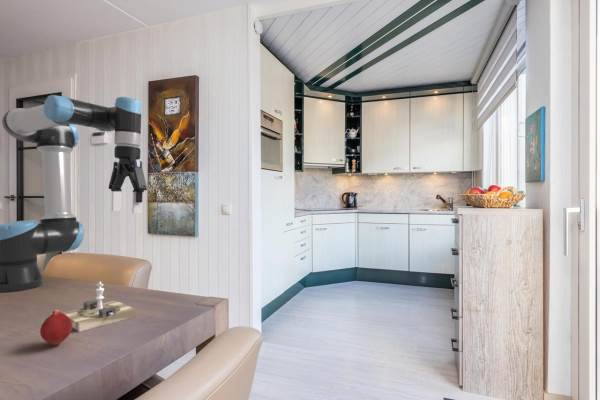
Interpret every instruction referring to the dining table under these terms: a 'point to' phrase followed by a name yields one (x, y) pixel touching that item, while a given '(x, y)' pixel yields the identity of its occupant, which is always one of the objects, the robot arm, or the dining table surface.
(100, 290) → the chess piece
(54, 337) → the onion
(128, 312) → the socket plate
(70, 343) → the dining table surface
